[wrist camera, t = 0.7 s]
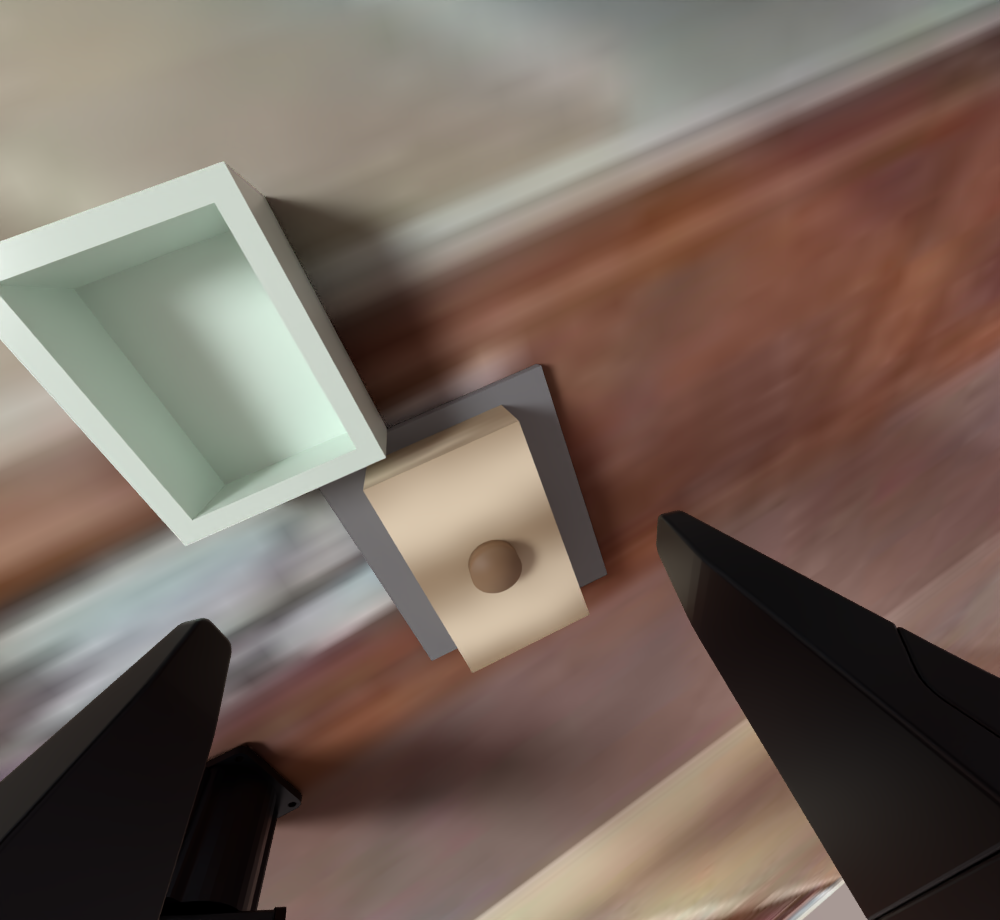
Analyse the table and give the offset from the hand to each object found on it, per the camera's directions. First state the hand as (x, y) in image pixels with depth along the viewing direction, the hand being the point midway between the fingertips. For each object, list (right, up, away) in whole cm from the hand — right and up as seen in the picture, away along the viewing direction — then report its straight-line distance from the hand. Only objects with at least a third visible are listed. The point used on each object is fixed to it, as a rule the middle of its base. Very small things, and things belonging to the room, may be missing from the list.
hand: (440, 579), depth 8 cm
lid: (0, -1, +14) cm, 14 cm away
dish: (-10, +6, +9) cm, 15 cm away
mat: (0, -1, +14) cm, 14 cm away
